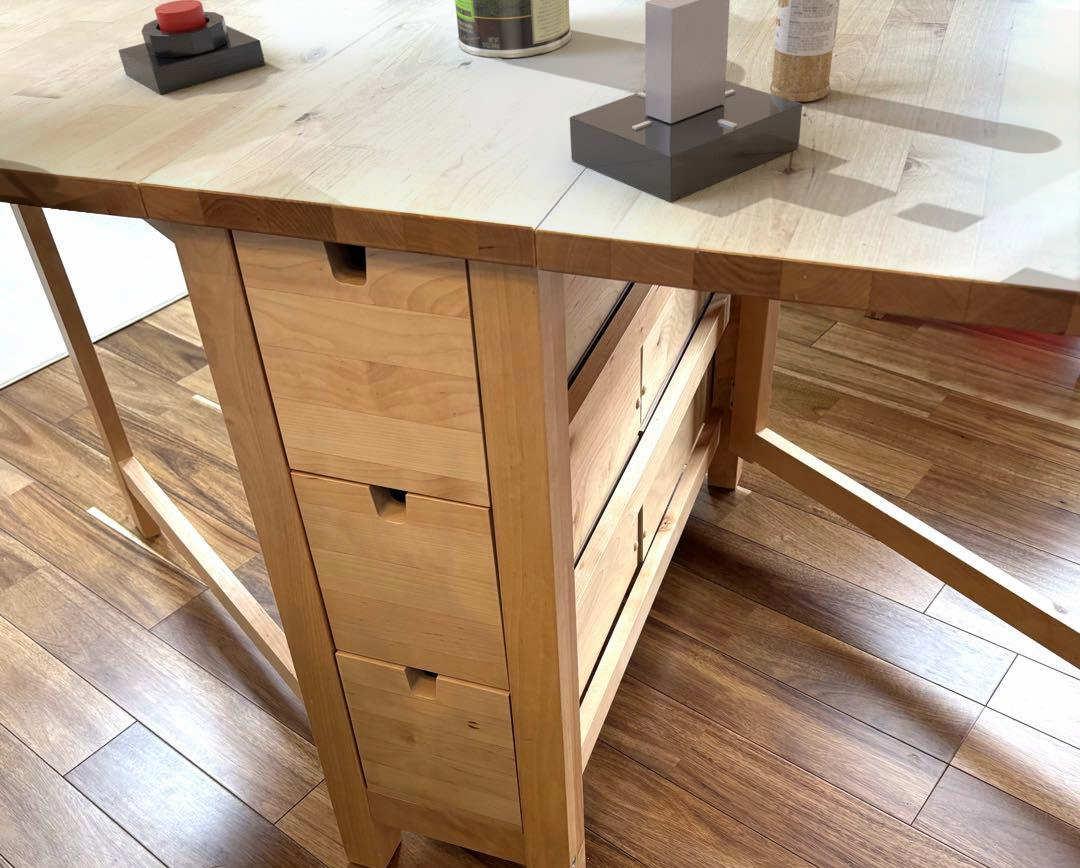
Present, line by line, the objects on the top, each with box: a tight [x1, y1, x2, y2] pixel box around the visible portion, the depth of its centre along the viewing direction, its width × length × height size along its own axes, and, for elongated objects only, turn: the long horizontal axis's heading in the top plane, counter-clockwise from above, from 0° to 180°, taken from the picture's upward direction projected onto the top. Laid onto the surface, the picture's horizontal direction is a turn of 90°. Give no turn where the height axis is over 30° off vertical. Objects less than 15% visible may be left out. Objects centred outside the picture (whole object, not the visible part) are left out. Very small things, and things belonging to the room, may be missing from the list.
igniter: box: [117, 11, 266, 96], centre depth 93 cm, size 10×8×4 cm
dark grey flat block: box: [569, 80, 803, 203], centre depth 71 cm, size 12×10×3 cm
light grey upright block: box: [644, 0, 731, 124], centre depth 68 cm, size 5×2×7 cm, turn 128°
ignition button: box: [154, 0, 207, 32], centre depth 91 cm, size 4×4×2 cm
